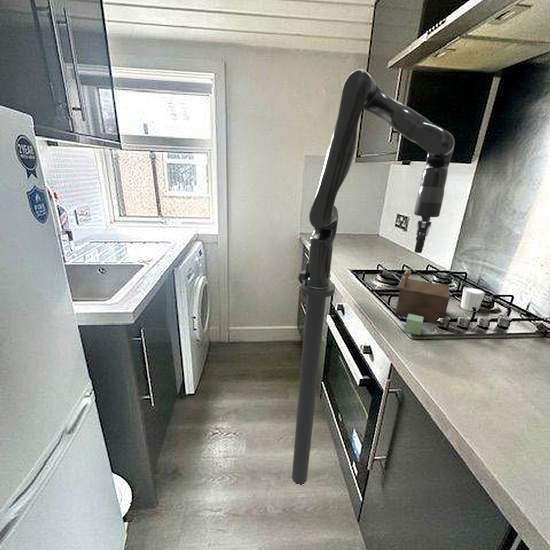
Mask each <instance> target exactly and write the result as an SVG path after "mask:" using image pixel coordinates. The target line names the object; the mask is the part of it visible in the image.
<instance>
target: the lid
mask: <svg viewBox="0 0 550 550" xmlns="http://www.w3.org/2000/svg"><path fill="white" fill-rule="evenodd" d="M411 274H412V270H411V269H409V268H408V269H405V272H404V274H403V276H404V277H401V278H400V281H399V283H398V285H397V287H396V290H397V291H400V290H401V291H406V292H412V293H417V294H422V295H427V296H432V297H437V298H442V299H447V300H449V301H450V285H445V284H440V283H434V282H429V281H423V280H417V279H412V278H410V276H411Z"/></svg>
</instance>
